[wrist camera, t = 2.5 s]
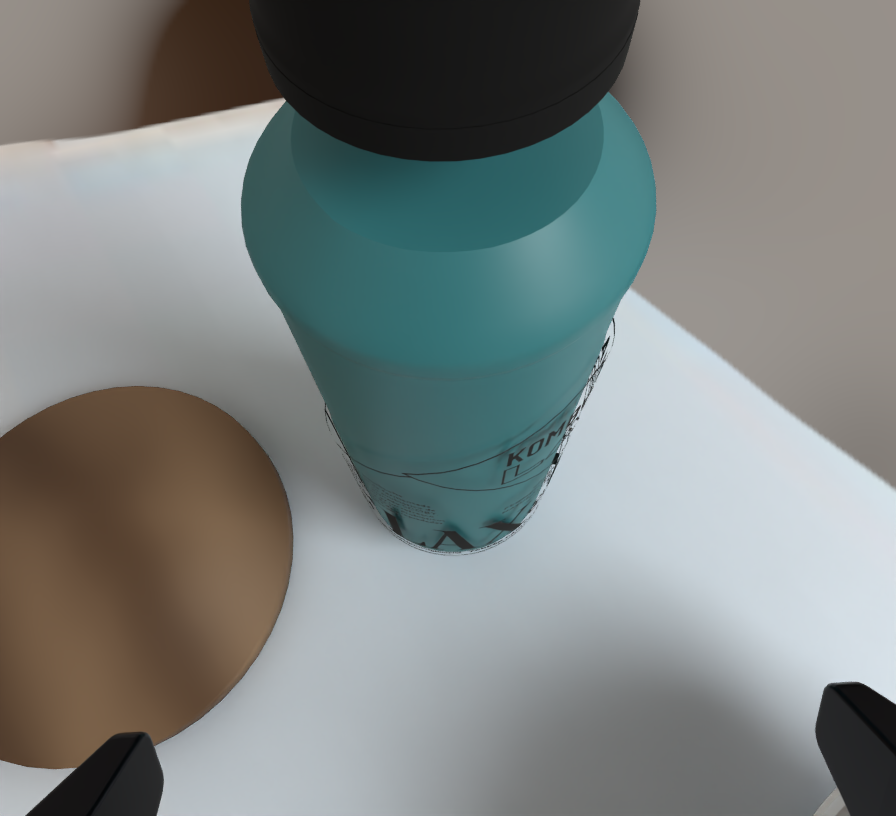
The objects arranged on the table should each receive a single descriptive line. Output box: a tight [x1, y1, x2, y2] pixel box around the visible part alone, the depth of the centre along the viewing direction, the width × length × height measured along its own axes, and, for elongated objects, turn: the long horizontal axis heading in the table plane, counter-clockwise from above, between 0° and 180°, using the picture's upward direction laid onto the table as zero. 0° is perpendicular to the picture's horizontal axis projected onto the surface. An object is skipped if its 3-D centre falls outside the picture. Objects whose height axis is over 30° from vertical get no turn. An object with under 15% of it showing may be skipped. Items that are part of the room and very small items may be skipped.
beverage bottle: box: [241, 0, 656, 555], centre depth 14 cm, size 6×7×20 cm
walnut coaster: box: [0, 386, 293, 769], centre depth 22 cm, size 13×13×1 cm
